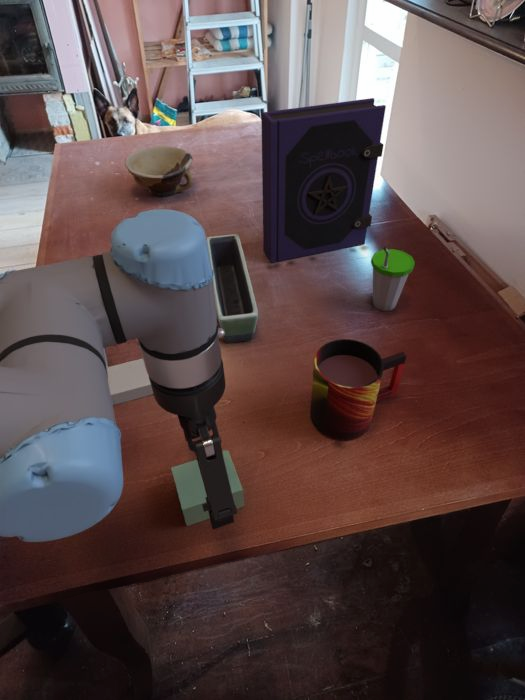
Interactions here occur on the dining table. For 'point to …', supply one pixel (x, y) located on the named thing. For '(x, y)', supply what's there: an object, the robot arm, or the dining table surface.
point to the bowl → (161, 169)
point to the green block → (201, 489)
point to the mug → (349, 387)
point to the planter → (232, 288)
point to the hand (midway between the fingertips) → (207, 476)
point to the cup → (389, 276)
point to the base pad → (128, 381)
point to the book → (318, 176)
